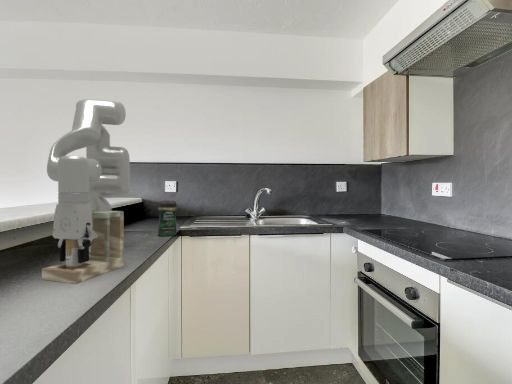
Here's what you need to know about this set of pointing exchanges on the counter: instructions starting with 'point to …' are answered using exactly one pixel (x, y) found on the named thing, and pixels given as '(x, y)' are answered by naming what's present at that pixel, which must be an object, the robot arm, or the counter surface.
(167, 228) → the coffee jar
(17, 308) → the counter surface
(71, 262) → the sprinkles bottle
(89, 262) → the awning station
